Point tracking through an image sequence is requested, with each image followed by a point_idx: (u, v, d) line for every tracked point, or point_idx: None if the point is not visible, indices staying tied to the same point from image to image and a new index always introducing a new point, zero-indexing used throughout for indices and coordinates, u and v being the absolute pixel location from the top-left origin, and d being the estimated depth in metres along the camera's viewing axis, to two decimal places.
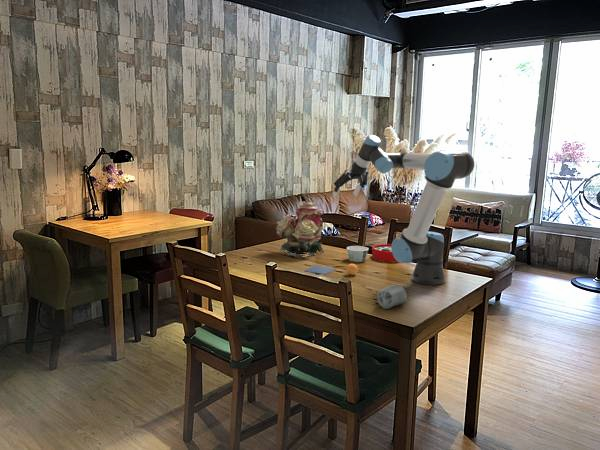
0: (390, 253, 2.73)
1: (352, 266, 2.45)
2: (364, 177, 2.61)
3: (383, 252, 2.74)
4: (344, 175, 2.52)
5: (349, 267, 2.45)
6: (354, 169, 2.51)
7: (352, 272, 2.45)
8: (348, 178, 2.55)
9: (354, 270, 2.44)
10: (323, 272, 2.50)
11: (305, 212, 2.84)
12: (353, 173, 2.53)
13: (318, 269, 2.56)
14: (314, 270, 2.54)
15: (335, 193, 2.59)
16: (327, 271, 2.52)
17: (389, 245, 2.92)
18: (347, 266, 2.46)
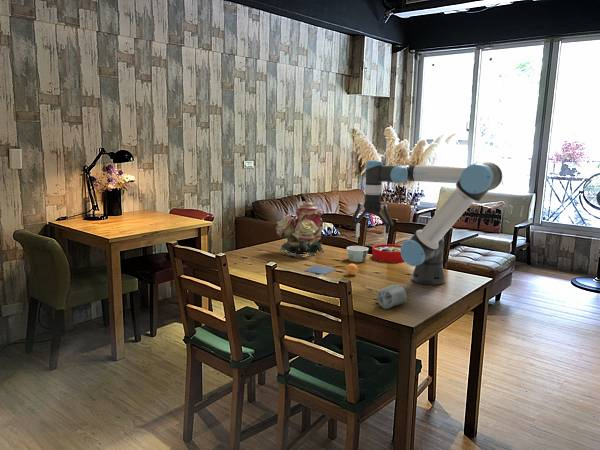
0: (390, 253, 2.73)
1: (352, 266, 2.45)
2: None
3: (383, 252, 2.74)
4: None
5: (349, 267, 2.45)
6: None
7: (352, 272, 2.45)
8: (363, 212, 2.39)
9: (354, 270, 2.44)
10: (323, 272, 2.50)
11: (305, 212, 2.84)
12: (365, 205, 2.38)
13: (318, 269, 2.56)
14: (314, 270, 2.54)
15: None
16: (327, 271, 2.52)
17: (389, 245, 2.91)
18: (347, 266, 2.46)
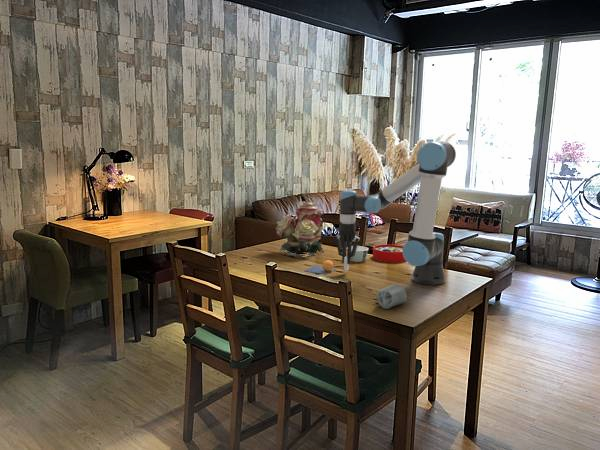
0: (391, 253, 2.72)
1: (329, 269, 2.51)
2: None
3: (384, 252, 2.73)
4: None
5: (328, 266, 2.50)
6: None
7: (324, 268, 2.51)
8: None
9: (325, 270, 2.52)
10: (323, 272, 2.50)
11: (305, 212, 2.84)
12: (340, 233, 2.46)
13: (318, 269, 2.56)
14: (314, 270, 2.54)
15: None
16: (327, 271, 2.52)
17: (390, 245, 2.91)
18: (329, 263, 2.51)
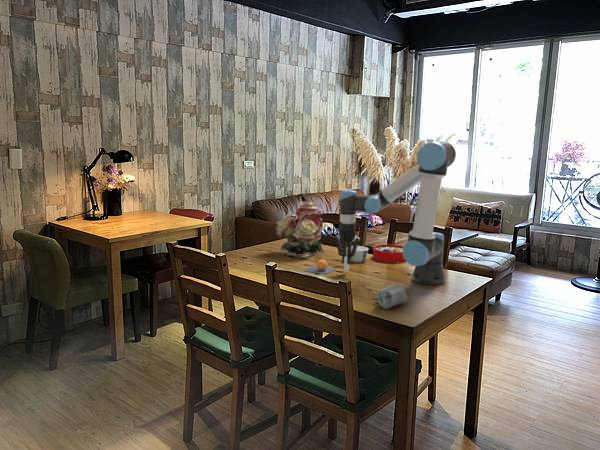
0: (391, 253, 2.72)
1: (323, 263, 2.52)
2: None
3: (384, 252, 2.73)
4: None
5: (320, 263, 2.52)
6: None
7: (320, 268, 2.52)
8: None
9: (323, 268, 2.52)
10: (323, 272, 2.50)
11: (305, 212, 2.84)
12: (340, 233, 2.46)
13: (318, 269, 2.56)
14: (314, 270, 2.54)
15: None
16: (327, 271, 2.52)
17: (390, 245, 2.91)
18: (319, 261, 2.53)
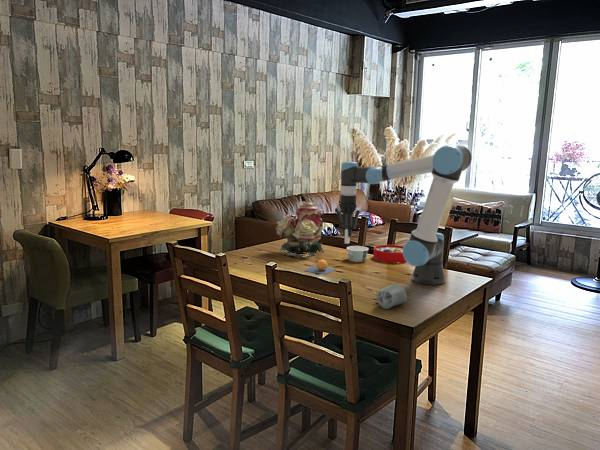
0: (392, 254, 2.71)
1: (323, 263, 2.52)
2: None
3: (385, 253, 2.73)
4: None
5: (320, 263, 2.52)
6: None
7: (320, 268, 2.52)
8: None
9: (323, 268, 2.52)
10: (323, 272, 2.50)
11: (305, 212, 2.84)
12: (341, 205, 2.43)
13: (318, 269, 2.56)
14: (314, 270, 2.54)
15: None
16: (327, 271, 2.52)
17: (391, 246, 2.90)
18: (319, 261, 2.53)
